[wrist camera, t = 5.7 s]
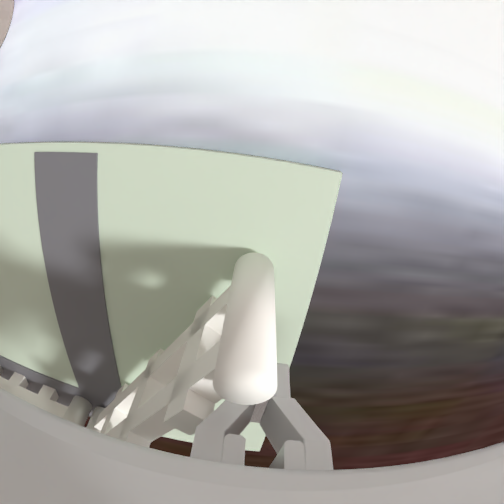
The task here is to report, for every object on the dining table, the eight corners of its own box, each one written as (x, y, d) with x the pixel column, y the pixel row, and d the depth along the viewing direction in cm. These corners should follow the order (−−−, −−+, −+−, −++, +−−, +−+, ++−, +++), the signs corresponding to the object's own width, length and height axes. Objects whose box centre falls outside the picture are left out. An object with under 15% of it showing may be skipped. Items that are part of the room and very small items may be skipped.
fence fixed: (89, 399, 18) (57, 468, 13) (94, 411, 19) (65, 478, 13) (-12, 355, 18) (-48, 404, 12) (-6, 368, 19) (-39, 416, 13)
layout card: (259, 447, 20) (259, 452, 20) (0, 373, 20) (-3, 376, 19) (339, 171, 12) (343, 173, 11) (-61, 149, 11) (-66, 151, 11)
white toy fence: (111, 422, 19) (86, 487, 13) (90, 410, 18) (63, 474, 13) (284, 270, 13) (293, 387, 7) (250, 243, 12) (237, 353, 7)
